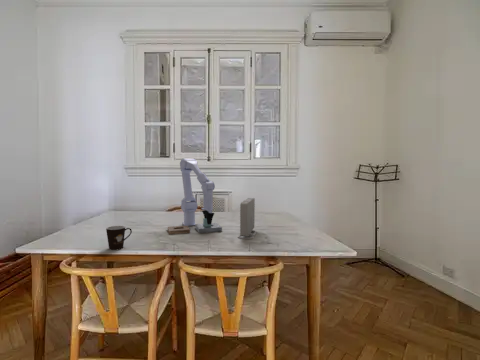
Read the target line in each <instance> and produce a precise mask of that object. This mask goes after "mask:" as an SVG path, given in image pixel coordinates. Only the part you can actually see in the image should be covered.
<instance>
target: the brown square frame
mask: <svg viewBox="0 0 480 360" xmlns="http://www.w3.org/2000/svg"><path fill="white" fill-rule="evenodd" d="M167 232H168V235H181V234H190V233H191V229H190V226H184V225H178V226H177V225H176V226H175V225H173V226H167Z"/></svg>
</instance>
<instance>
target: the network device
mask: <svg viewBox="0 0 480 360" xmlns="http://www.w3.org/2000/svg"><path fill="white" fill-rule="evenodd" d="M255 200H256V199H255V198H254V197H247V198H246V199H244V200H243V201H241V202H240V204H239V206H240V207H239V209H240V210H239V212H240V213H239V214H240V216H239V220H240V222H239V224H240V225H239V227H240V228H239V229H240V230H239V233H238V235H237V239H240V240H241V239H242V240H252V239H254V238H255V236H256V234H257V233H258V231H257V230H255V229H254V228H255V217H256V215H255V210H256V209H255V205H256V204H255V203H256V202H255ZM249 236H250V237H249Z"/></svg>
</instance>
